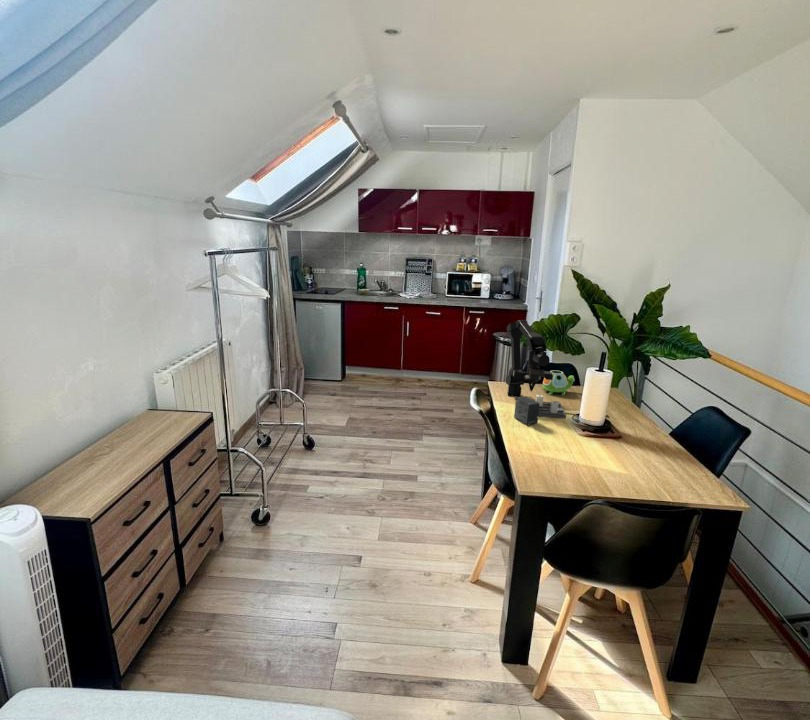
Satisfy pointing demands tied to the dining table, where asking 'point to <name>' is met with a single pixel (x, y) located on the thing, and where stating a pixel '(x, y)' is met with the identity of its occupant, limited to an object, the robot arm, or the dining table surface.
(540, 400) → the fader
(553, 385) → the turtle holder
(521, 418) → the small box
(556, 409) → the fader
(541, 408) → the console
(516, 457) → the dining table surface
